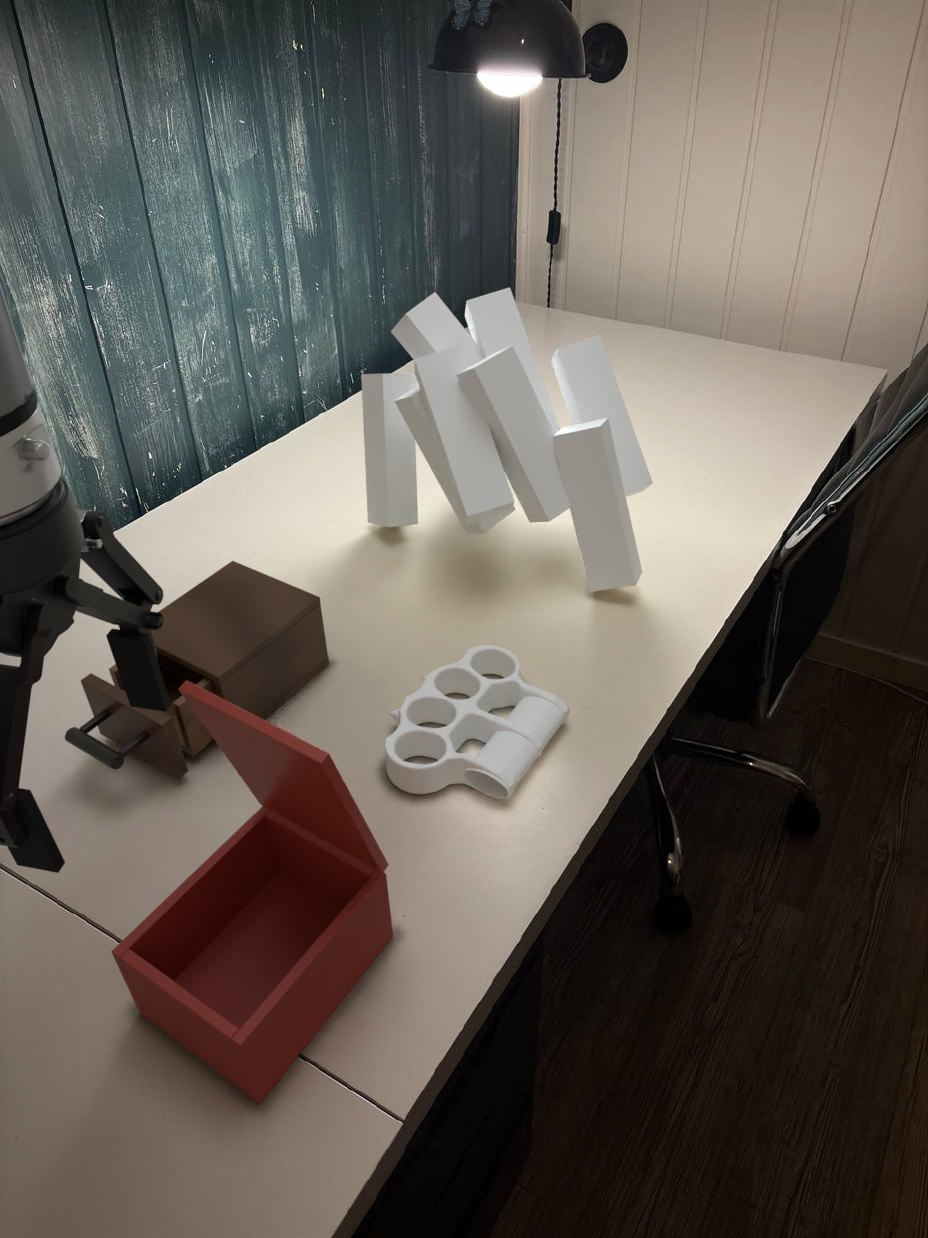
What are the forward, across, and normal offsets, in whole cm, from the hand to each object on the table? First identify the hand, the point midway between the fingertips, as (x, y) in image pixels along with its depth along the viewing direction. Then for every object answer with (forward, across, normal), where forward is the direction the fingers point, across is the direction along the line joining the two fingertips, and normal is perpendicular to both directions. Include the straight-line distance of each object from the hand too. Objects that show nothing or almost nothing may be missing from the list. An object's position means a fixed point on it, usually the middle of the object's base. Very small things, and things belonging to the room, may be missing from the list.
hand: (100, 778), depth 59 cm
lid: (+2, +3, -11) cm, 12 cm away
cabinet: (+17, +27, +5) cm, 33 cm away
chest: (+17, -2, -10) cm, 20 cm away
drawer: (+16, +19, +8) cm, 27 cm away
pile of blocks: (+18, +59, -15) cm, 64 cm away
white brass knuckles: (+18, +25, -19) cm, 36 cm away
